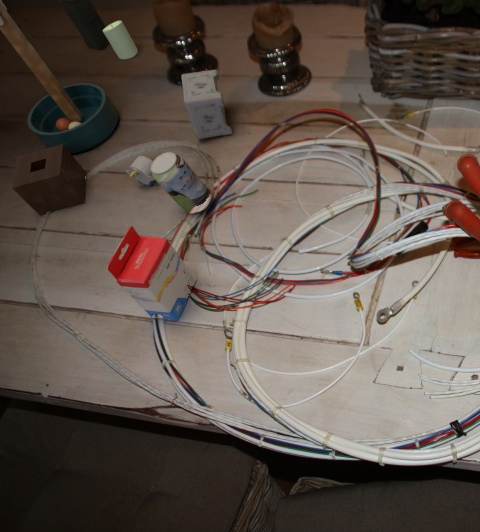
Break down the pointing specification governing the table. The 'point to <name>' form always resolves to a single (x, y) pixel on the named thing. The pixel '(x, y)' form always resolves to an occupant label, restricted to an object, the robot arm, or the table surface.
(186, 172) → the beverage can
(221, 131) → the white printed box
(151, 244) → the ink box
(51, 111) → the bowl
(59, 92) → the stirring stick
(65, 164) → the holder
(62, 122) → the terracotta ball
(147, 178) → the electric motor
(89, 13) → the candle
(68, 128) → the cream ball
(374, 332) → the table surface
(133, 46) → the candle
